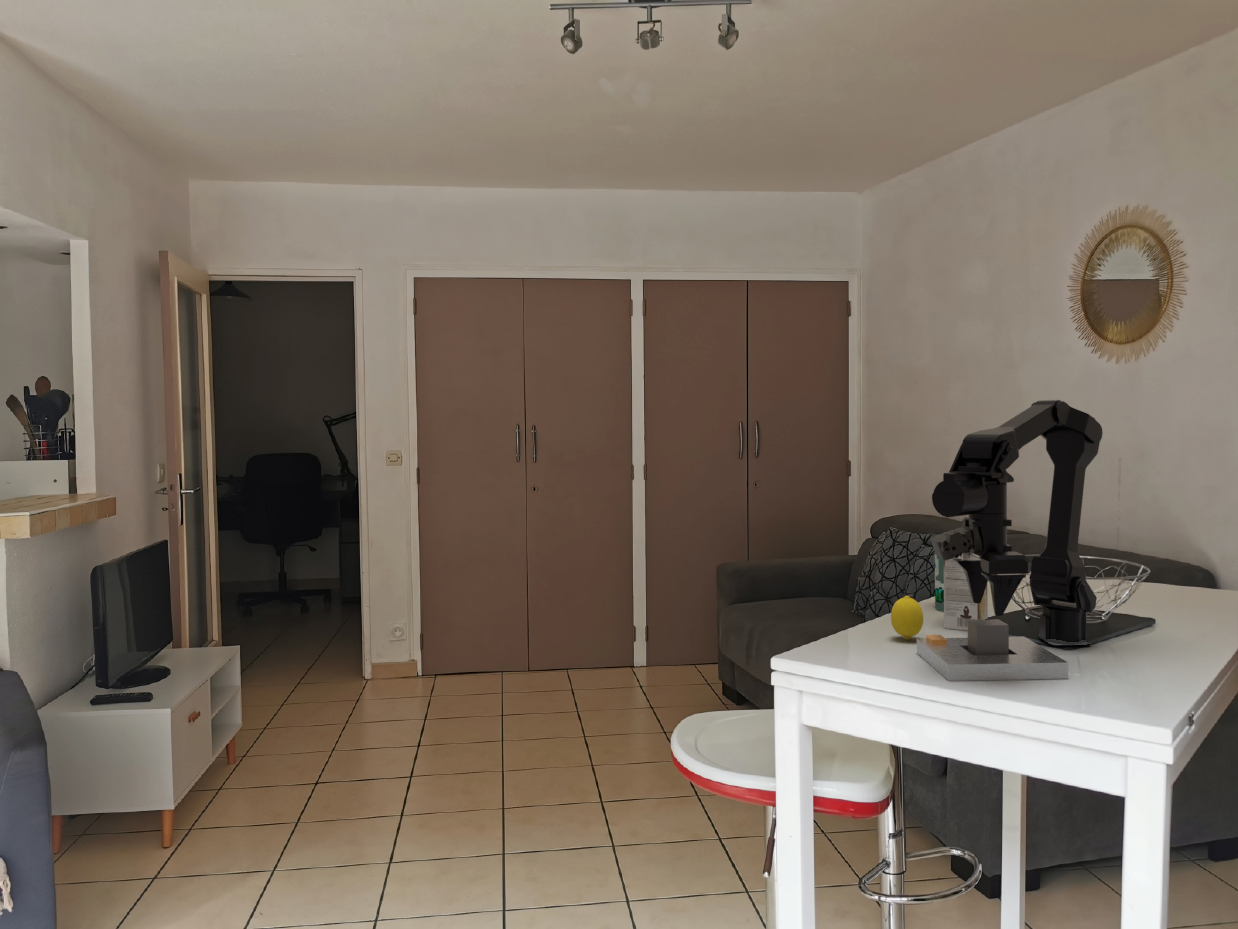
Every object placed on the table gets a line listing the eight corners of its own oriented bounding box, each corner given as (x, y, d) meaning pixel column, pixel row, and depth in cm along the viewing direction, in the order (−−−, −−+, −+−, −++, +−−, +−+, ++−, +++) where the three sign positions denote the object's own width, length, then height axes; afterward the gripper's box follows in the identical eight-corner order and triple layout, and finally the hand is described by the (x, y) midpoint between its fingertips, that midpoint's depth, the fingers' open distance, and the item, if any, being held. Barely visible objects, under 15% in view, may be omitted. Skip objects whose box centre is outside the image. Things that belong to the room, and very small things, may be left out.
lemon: (925, 644, 160) (925, 599, 159) (892, 643, 161) (892, 598, 161) (921, 636, 165) (921, 592, 165) (889, 635, 166) (889, 592, 166)
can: (941, 604, 191) (940, 533, 190) (971, 607, 187) (970, 535, 186) (932, 610, 186) (931, 537, 185) (962, 613, 182) (962, 539, 182)
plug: (998, 661, 148) (998, 619, 148) (1008, 668, 144) (1008, 625, 144) (967, 662, 148) (967, 620, 148) (976, 669, 144) (976, 625, 144)
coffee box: (953, 618, 178) (953, 537, 177) (988, 621, 175) (988, 539, 174) (943, 628, 171) (942, 543, 170) (979, 632, 167) (978, 545, 166)
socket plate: (1023, 651, 154) (1023, 631, 154) (1068, 678, 138) (1068, 657, 138) (916, 653, 154) (916, 633, 154) (948, 681, 138) (948, 659, 138)
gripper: (918, 507, 154) (919, 598, 155) (956, 520, 135) (956, 623, 136) (984, 505, 154) (985, 597, 155) (1032, 518, 135) (1031, 622, 136)
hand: (987, 609), depth 145 cm, fingers open, 9 cm apart
